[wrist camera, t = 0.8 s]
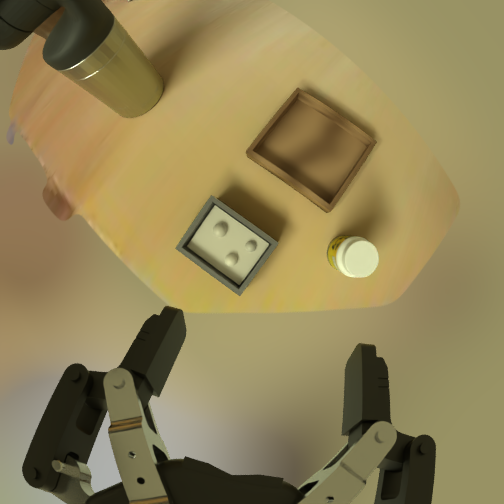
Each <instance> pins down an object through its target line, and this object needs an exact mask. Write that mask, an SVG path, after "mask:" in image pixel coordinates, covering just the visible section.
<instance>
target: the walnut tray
mask: <svg viewBox="0 0 504 504" xmlns="http://www.w3.org/2000/svg"><path fill="white" fill-rule="evenodd" d="M376 143H377V142H376V141H375V140H374V139H373V138H371V137H370V136H369V135H367V134H366V133H365V132H364V131H362V130H361V129H360V128H358V127H357V126H355V125H354V124H353V123H351V122H350V121H349V120H347V119H346V118H344V117H343V116H341V115H340V114H339V113H337V112H336V111H334V110H333V109H331V108H330V107H328V106H327V105H325V104H324V103H322V102H320V101H319V100H317V99H316V98H314V97H312V96H311V95H309V94H308V93H306V92H304V91H303V90H301V89H299V88H297V89H296V90H295V91H294V92H293V94H292V95H291V96H290V97H289V98H288V99H287V101H286V102H285V103H284V104H283V105H282V107H281V108H280V109H279V110H278V111H277V113H276V114H275V115H274V116H273V118H272V119H271V120H270V121H269V123H268V124H267V125H266V126H265V128H264V129H263V130H262V131H261V133H260V134H259V135H258V136H257V138H256V139H255V140H254V141H253V143H252V144H251V145H250V147H249V148H248V149H247V151H246V154H247V157H248V158H250V159H251V160H253V161H254V162H256V163H257V164H259V165H260V166H262V167H263V168H265V169H266V170H268V171H269V172H271V173H272V174H273V175H275V176H276V177H278V178H279V179H281V180H282V181H284V182H285V183H286V184H288V185H289V186H291V187H292V188H294V189H295V190H296V191H298V192H299V193H300V194H302V195H303V196H305V197H306V198H307V199H309V200H310V201H311V202H313V203H314V204H316V205H317V206H318V207H320V208H321V209H322V210H324V211H325V212H326V213H328V212H331V210H332V209H333V208H334V206H335V205H336V203H337V202H338V200H339V199H340V197H341V196H342V194H343V193H344V191H345V190H346V189H347V187H348V186H349V184H350V183H351V181H352V180H353V178H354V177H355V175H356V174H357V172H358V171H359V169H360V168H361V166H362V164H363V163H364V161H365V160H366V158H367V157H368V155H369V154H370V152H371V151H372V149H373V148H374V146H375V144H376Z"/></svg>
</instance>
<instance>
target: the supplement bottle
mask: <svg viewBox="0 0 504 504" xmlns="http://www.w3.org/2000/svg"><path fill="white" fill-rule="evenodd" d="M327 259H328V261H329V263H330V265H331V266H332V267H333V268H335V269H336V270H338V271H340V272H341V273H343V274H345V275H346V276H349V277H366V276H369V275H370V274H372V273H373V272H374V271H375V269H376V267H377V265H378V261H379V255H378V251H377V249H376V247H375V246H374V245H373V244H372V243H370V242H369V241H368V240H366V239H365V238H362V237H359V236H339V237H336V238H335V239H334V240H332V241H331V243H330V244H329V246H328V249H327Z"/></svg>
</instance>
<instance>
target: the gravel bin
mask: <svg viewBox="0 0 504 504" xmlns="http://www.w3.org/2000/svg"><path fill="white" fill-rule="evenodd" d="M278 244H279V243H278V242H277V241H276V240H274V239H273V238H272V237H270V236H269V235H268V234H266V233H265V232H263V231H262V230H261V229H259V228H258V227H256V226H255V225H254V224H252V223H251V222H249V221H248V220H247V219H245V218H244V217H242V216H241V215H240V214H238V213H237V212H235V211H234V210H233V209H231V208H230V207H228V206H227V205H225V204H224V203H223V202H221V201H220V200H218V199H217V198H215V197H214V196H212V195H211V196H210V198H209V199H208V201H207V202H206V204H205V205H204V206H203V208H202V209H201V211H200V212H199V214H198V215H197V217H196V218H195V220H194V221H193V222H192V224H191V225H190V227H189V228H188V230H187V231H186V233H185V234H184V236H183V237H182V239H181V241H180V242H179V244H178V245H177V247H176V249H177V250H178V251H179V252H181V253H182V254H183V255H185V256H186V257H187V258H189V259H190V260H191V261H193V262H194V263H195V264H197V265H198V266H199V267H201V268H202V269H203V270H205V271H206V272H207V273H209V274H210V275H211V276H213V277H214V278H215V279H217V280H218V281H220V282H221V283H222V284H224V285H225V286H226V287H228V288H229V289H231V290H232V291H233V292H235V293H236V294H237V295H239V296H240V295H241V294H242V293H243V291H244V290H245V289H246V287H247V286H248V285H249V283H250V282H251V281H252V279H253V278H254V276H255V275H256V274H257V272H258V271H259V270H260V268H261V267H262V266H263V264H264V263H265V261H266V260H267V259H268V257H269V256H270V255H271V253H272V252H273V250H274V249H275V248H276V246H277V245H278Z"/></svg>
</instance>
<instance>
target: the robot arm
mask: <svg viewBox="0 0 504 504" xmlns="http://www.w3.org/2000/svg"><path fill="white" fill-rule="evenodd" d="M60 7H65V10H64V12H63V14H62V16H61V18H60V19H59V21H58V22H57V24H56V25H55V27H54V28H53V30H52V31H51V33H50V34H49V36H48V38H47V40H46V42H45V45H44V48H43V59H44V60H45V62H46V63H47V64H49V65H50V66H51V67H53V68H54V69H56V70H57V71H59V72H60V73H62V74H63V75H65V76H66V77H67V78H69V79H71V80H72V81H73V82H75V83H76V84H78V85H79V86H81V87H82V88H83V89H85V90H86V91H88V92H89V93H90V94H92V95H93V96H95V97H96V98H97V99H99V100H100V101H101V102H103V103H104V104H106V105H107V106H108V107H110V108H111V109H112V110H114V111H115V112H116V113H118V114H119V115H121V116H122V117H126V118H133V117H137V116H140V115H142V114H144V113H146V112H147V111H149V110H150V109H151V108H152V107H153V106H154V105H155V104H156V103H157V102H158V100H159V99H160V97H161V95H162V92H163V86H164V83H163V79H162V78H161V76H160V75H159V73H158V72H157V71H156V69H155V68H154V67H153V65H152V64H151V63H150V61H149V60H148V59H147V57H146V56H145V55H144V53H143V52H142V51H141V49H140V48H139V47H138V46H137V44H136V43H135V42H134V40H133V39H132V38H131V37H130V35H129V34H128V33H127V31H126V30H125V29H124V28H123V27H122V25H121V24H120V23H119V21H118V20H117V19H116V18H115V16H114V15H113V14H112V13H111V11H110V10H109V9H108V8H107V7H106V6H105V4H104V3H103V2H102V1H101V0H0V50H6V49H11V48H14V47H16V46H17V45H19V44H20V43H21V42H22V41H23V40H24V39H26V38H27V37H28V36H29V35H30V34H31V33H32V32H33V31H34V30H35V29H37V28H38V27H39V26H40V25H41V24H42V23H43V22H44V21H45V20H46V19H47V18H49V17H50V16H51V15H52V14H53V13H54V12H55V11H57V10H58V9H59V8H60ZM185 337H186V325H185V320H184V316H183V311H182V310H181V309H177V308H173V307H170V306H165V307H164V309H163V310H162V312H161V314H160V316H159V315H156V314H154V315H152V316H151V317H150V318H149V319H147V320H146V321H145V323H144V324H143V326H142V328H141V329H140V332H139V333H138V335H137V336H136V339H135V340H134V341H133V343H132V345H131V347H130V348H129V350H128V352H127V354H126V356H125V357H124V359H123V361H122V363H121V364H120V365H119V367H117V368H115V369H113V370H110V371H109V372H97V371H88V370H87V369H86V367H85V366H83V365H82V364H72V365H70V366H69V367H68V368H67V369H66V370H65V372H64V374H63V376H62V378H61V379H60V381H59V383H58V385H57V387H56V389H55V391H54V393H53V395H52V397H51V399H50V401H49V403H48V405H47V408H46V410H45V412H44V414H43V416H42V419H41V421H40V423H39V425H38V428H37V430H36V432H35V435H34V437H33V440H32V442H31V444H30V447H29V450H28V453H27V455H26V458H25V460H24V463H23V467H22V472H23V476H24V478H25V480H26V481H27V482H28V484H29V485H31V486H32V487H35V488H38V489H41V490H44V491H46V492H50V493H52V494H53V495H55V496H56V497H58V498H59V499H61V500H62V501H64V502H65V503H67V504H349V503H350V502H351V501H352V500H353V499H354V498H355V497H356V496H357V495H358V494H359V493H360V492H361V490H362V489H363V488H364V487H365V485H366V480H367V478H368V477H369V476H370V475H371V473H372V472H373V471H374V470H375V469H376V467H377V468H380V473H379V480H378V487H377V492H376V497H375V503H374V504H431V501H432V493H433V484H434V474H435V457H436V456H435V455H436V445H435V442H434V440H433V439H432V438H431V437H430V436H428V435H420V436H418V437H416V438H415V437H412V436H409V435H405V434H402V433H400V432H398V431H397V430H396V429H395V428H394V426H393V425H392V423H391V419H390V395H389V380H388V368H387V365H386V363H385V361H384V359H383V358H381V357H377V356H376V347H375V345H369V344H361V343H359V344H358V345H357V346H356V348H355V349H354V351H353V353H352V354H351V356H350V358H349V359H348V361H347V364H346V368H345V387H344V389H345V390H344V408H343V423H342V435H346V436H349V439H348V443H346V445H345V446H344V447H343V448H342V449H341V450H340V451H339V452H338V453H337V454H336V455H335V456H334V457H333V458H332V459H331V460H330V461H329V462H328V463H327V464H326V465H325V466H324V467H323V468H322V469H321V470H320V471H318V472H317V473H315V474H314V475H313V476H312V477H311V478H309V479H308V480H307V481H306V482H305V483H303V484H302V485H301V486H300V487H299V488H298V489H297V488H296V487H294V486H293V485H291V484H289V483H287V482H285V481H283V478H279V477H271V476H264V475H230V474H228V473H226V472H224V471H222V470H220V469H218V468H216V467H214V466H212V465H211V464H209V463H205V462H202V461H198V460H195V459H192V458H189V457H186V456H185V458H184V459H170V457H169V454H168V452H167V449H166V447H165V445H164V442H163V440H162V439H161V437H160V434H159V432H158V429H157V426H156V423H155V420H154V416H153V413H152V410H151V406H150V403H149V400H150V398H151V396H152V395H154V396H157V397H159V396H160V394H161V391H162V389H163V387H164V385H165V382H166V380H167V378H168V376H169V373H170V371H171V369H172V367H173V364H174V362H175V360H176V358H177V356H178V354H179V351H180V349H181V347H182V345H183V343H184V340H185ZM107 411H108V412H109V417H110V421H111V426H110V427H109V429H108V433H109V438H110V441H111V445H112V449H113V453H114V456H115V460H116V463H117V467H118V470H119V473H120V476H121V479H122V482H120V483H118V484H115V485H113V486H111V487H109V488H107V489H104V490H102V491H99V492H97V493H94V491H93V490H92V487H91V472H90V470H89V468H88V466H86V464H87V462H88V459H89V456H90V453H91V451H92V448H93V445H94V442H95V440H96V437H97V435H98V432H99V430H100V427H101V425H102V422H103V420H104V418H105V415H106V413H107ZM134 457H135V458H134ZM327 501H328V502H327Z"/></svg>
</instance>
